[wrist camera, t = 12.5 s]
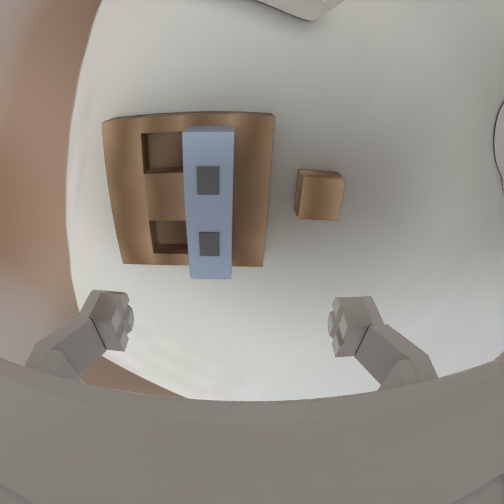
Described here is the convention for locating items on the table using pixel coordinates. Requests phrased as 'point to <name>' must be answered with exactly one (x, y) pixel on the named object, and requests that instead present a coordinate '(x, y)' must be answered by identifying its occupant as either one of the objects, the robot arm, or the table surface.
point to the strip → (209, 199)
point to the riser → (318, 195)
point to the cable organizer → (304, 7)
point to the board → (172, 184)
